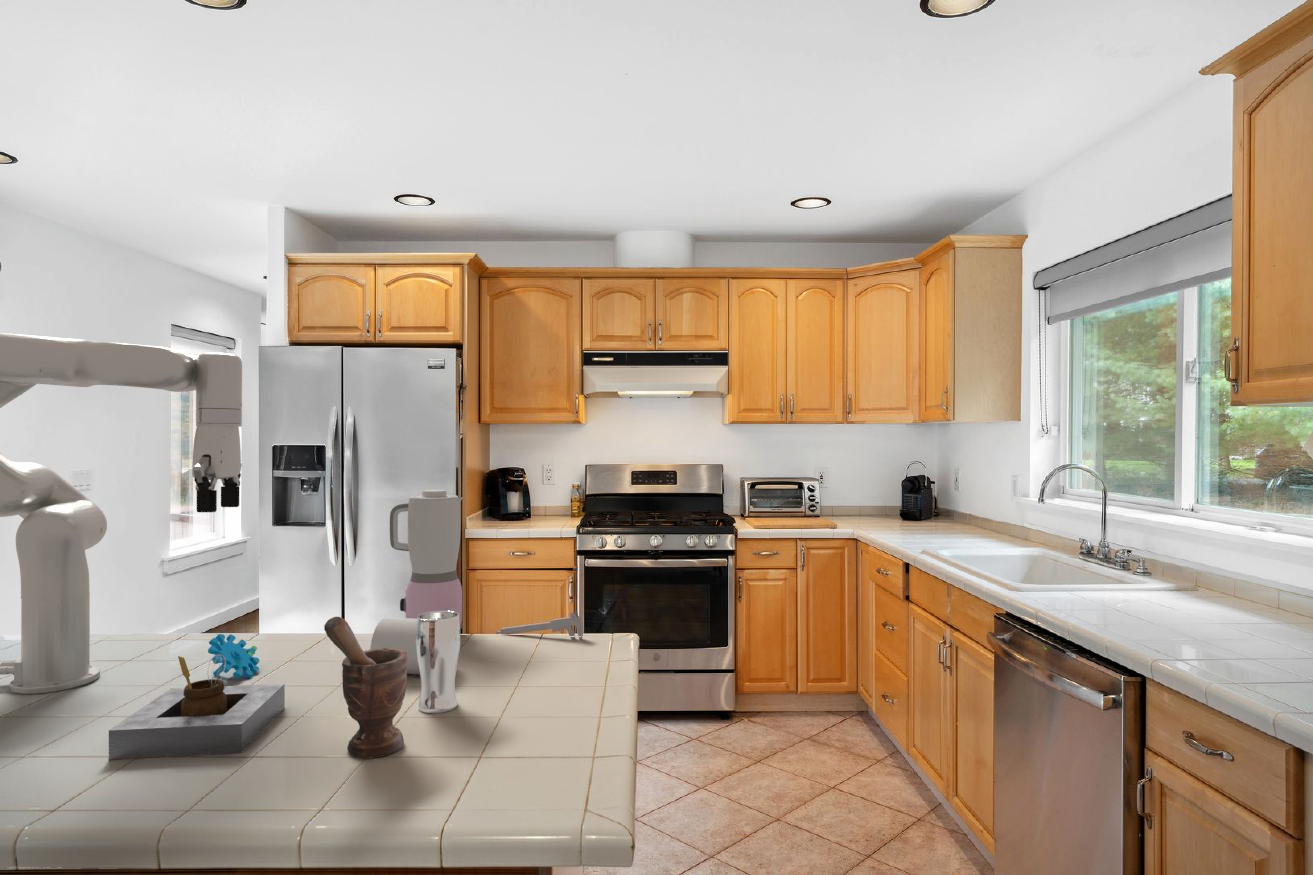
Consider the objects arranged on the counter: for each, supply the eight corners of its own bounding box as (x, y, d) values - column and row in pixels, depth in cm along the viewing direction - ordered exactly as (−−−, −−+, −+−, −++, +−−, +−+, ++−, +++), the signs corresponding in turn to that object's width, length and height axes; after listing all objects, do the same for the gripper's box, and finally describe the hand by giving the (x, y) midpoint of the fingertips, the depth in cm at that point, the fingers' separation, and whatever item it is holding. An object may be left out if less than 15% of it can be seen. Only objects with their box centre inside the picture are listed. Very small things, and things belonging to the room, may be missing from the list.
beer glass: (468, 703, 124) (469, 612, 124) (440, 717, 117) (440, 622, 117) (436, 696, 127) (436, 608, 127) (406, 710, 120) (406, 617, 120)
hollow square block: (108, 759, 102) (108, 730, 102) (171, 713, 119) (171, 688, 119) (241, 752, 104) (241, 723, 104) (284, 708, 121) (284, 683, 121)
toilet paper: (370, 680, 135) (370, 624, 135) (395, 663, 145) (396, 612, 145) (423, 682, 134) (423, 626, 134) (445, 665, 144) (445, 613, 144)
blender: (464, 625, 174) (464, 488, 174) (461, 639, 162) (462, 492, 162) (393, 628, 171) (393, 489, 171) (385, 643, 159) (385, 493, 159)
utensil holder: (235, 728, 113) (235, 649, 113) (191, 743, 107) (190, 660, 107) (214, 720, 116) (214, 643, 116) (170, 734, 111) (170, 653, 110)
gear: (234, 677, 131) (202, 634, 133) (210, 700, 131) (179, 657, 133) (275, 667, 142) (245, 627, 144) (253, 688, 142) (224, 648, 144)
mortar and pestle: (372, 774, 98) (373, 622, 98) (314, 768, 99) (314, 618, 99) (418, 739, 109) (418, 602, 109) (364, 734, 111) (365, 599, 111)
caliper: (583, 640, 163) (583, 611, 163) (581, 641, 162) (581, 612, 162) (497, 633, 168) (497, 605, 168) (495, 635, 167) (495, 607, 167)
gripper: (218, 419, 149) (218, 505, 149) (174, 417, 132) (173, 514, 132) (258, 420, 150) (258, 505, 150) (219, 418, 133) (219, 514, 133)
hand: (218, 509), depth 141 cm, fingers open, 9 cm apart
